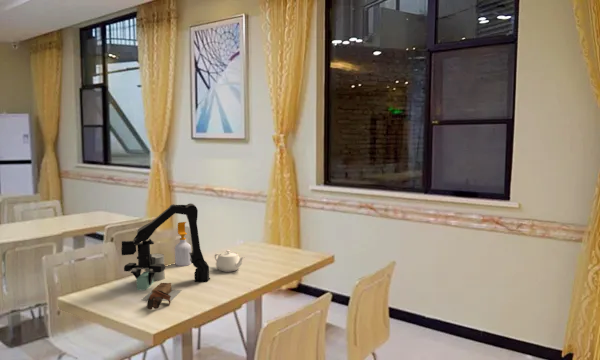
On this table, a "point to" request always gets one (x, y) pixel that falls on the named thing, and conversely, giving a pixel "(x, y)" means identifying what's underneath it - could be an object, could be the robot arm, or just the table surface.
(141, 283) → the lintel
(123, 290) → the table surface
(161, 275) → the speckled grey cylinder
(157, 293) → the brown curved piece
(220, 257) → the teapot
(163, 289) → the brown wooden block
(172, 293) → the build mat
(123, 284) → the table surface
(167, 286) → the post
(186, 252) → the soap bottle
